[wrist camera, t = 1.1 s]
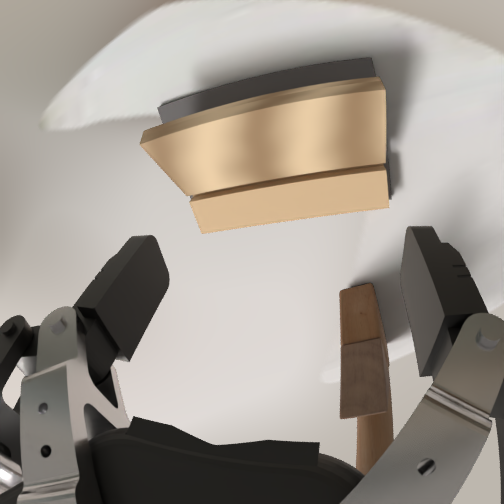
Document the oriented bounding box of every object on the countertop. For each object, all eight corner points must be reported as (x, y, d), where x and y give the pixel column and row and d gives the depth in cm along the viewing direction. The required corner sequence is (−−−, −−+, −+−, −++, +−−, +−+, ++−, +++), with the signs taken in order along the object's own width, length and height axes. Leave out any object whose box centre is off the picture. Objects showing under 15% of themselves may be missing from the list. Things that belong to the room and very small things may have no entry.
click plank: (379, 76, 15) (385, 89, 15) (381, 149, 21) (385, 163, 21) (143, 130, 20) (139, 144, 20) (188, 183, 26) (186, 196, 26)
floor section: (370, 57, 18) (375, 57, 17) (390, 197, 24) (395, 207, 23) (159, 106, 23) (149, 111, 22) (203, 224, 29) (196, 234, 28)
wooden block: (372, 280, 29) (389, 460, 15) (387, 344, 35) (395, 486, 20) (337, 289, 31) (334, 466, 17) (358, 350, 36) (357, 491, 22)
